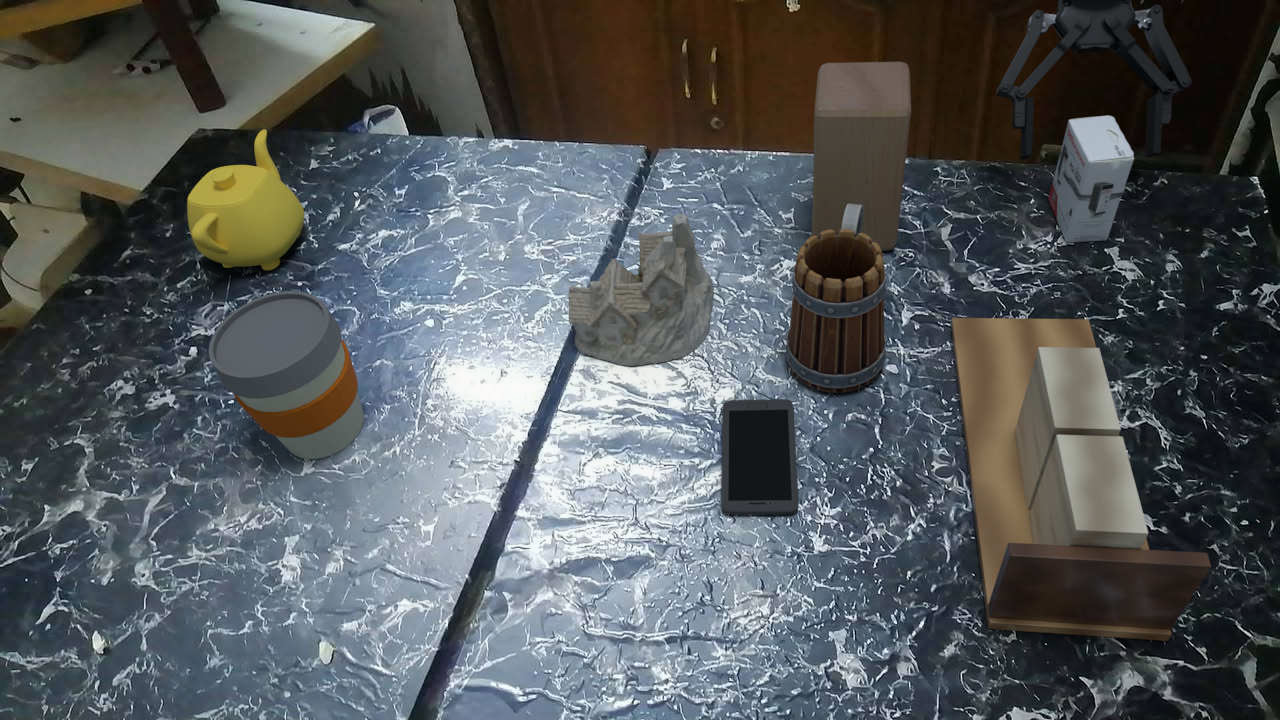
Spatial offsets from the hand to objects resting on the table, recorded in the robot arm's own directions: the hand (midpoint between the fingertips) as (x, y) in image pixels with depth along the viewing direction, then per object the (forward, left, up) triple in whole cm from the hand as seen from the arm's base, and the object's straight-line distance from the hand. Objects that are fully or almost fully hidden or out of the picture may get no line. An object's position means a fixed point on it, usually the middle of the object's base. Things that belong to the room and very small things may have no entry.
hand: (1088, 156), depth 106 cm
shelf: (+9, +38, -8) cm, 40 cm away
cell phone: (+36, +39, -8) cm, 53 cm away
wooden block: (+26, +3, -8) cm, 27 cm away
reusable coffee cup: (+84, +37, -8) cm, 92 cm away
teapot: (+105, +6, -8) cm, 105 cm away
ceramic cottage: (+50, +19, -8) cm, 54 cm away
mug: (+28, +23, -8) cm, 37 cm away
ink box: (0, +2, -8) cm, 8 cm away
